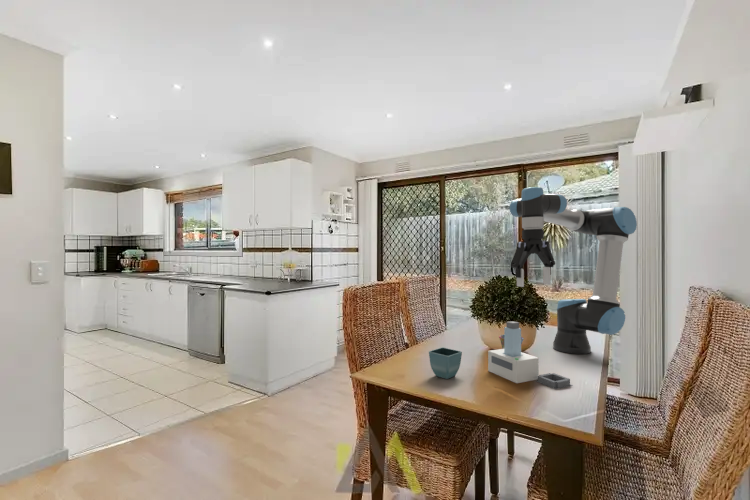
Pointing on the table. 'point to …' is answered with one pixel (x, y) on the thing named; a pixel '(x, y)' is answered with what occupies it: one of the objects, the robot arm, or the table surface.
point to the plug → (512, 339)
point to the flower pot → (445, 362)
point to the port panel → (513, 366)
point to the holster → (554, 380)
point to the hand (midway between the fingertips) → (533, 285)
